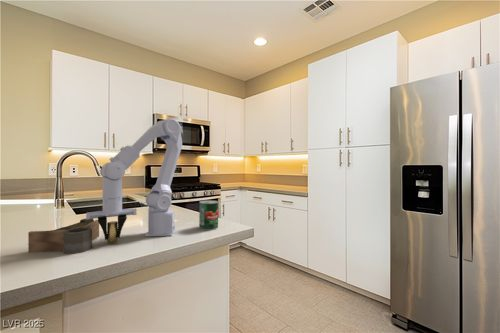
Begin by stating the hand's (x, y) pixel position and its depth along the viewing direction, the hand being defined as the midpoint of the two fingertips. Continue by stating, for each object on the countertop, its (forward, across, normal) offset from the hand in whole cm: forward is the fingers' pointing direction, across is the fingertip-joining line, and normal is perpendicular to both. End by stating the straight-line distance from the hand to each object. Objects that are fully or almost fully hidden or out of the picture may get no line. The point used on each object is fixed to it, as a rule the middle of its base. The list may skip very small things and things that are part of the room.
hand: (112, 238), depth 81 cm
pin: (+2, 0, 0) cm, 2 cm away
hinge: (+2, +12, -5) cm, 13 cm away
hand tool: (+2, +12, -20) cm, 24 cm away
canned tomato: (+2, -35, -2) cm, 35 cm away
